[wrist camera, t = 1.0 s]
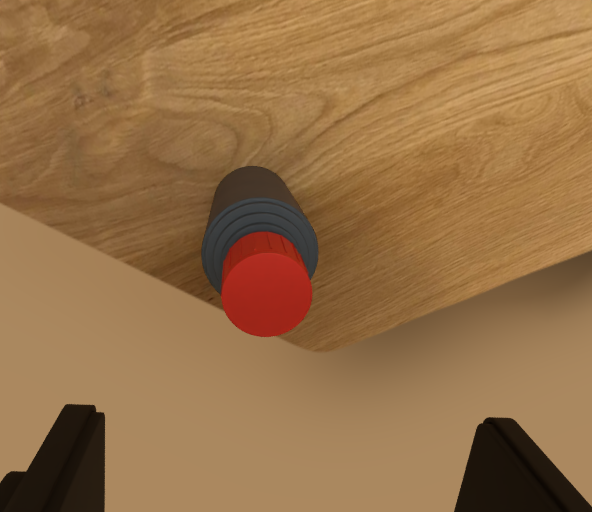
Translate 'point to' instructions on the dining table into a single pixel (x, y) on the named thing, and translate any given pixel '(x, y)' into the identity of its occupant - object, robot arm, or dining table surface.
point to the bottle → (254, 218)
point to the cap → (265, 285)
